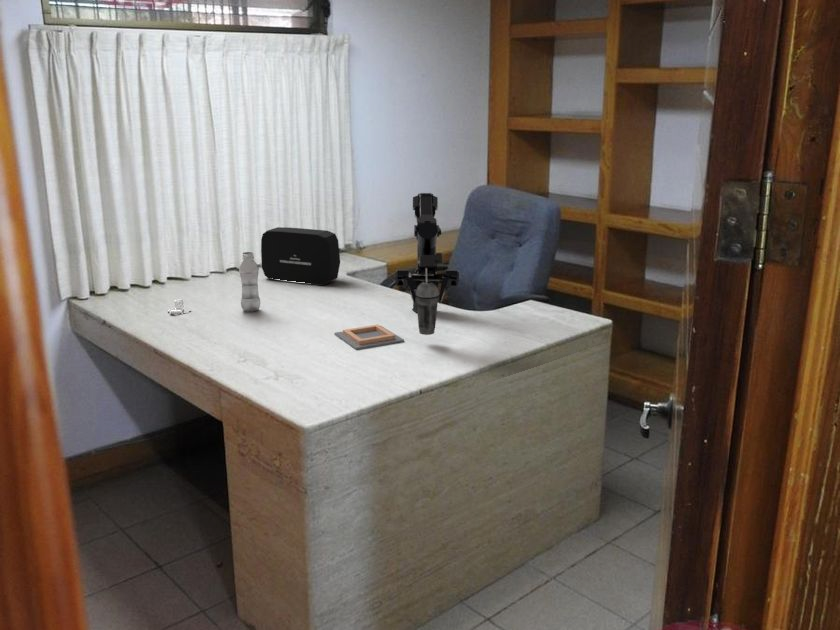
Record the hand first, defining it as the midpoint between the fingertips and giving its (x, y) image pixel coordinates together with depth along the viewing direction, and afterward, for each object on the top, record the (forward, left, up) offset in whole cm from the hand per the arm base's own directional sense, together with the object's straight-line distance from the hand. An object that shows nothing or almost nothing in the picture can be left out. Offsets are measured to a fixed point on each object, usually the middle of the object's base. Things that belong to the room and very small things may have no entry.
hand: (427, 302), depth 228 cm
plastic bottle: (+35, -59, -13) cm, 70 cm away
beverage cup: (-1, -1, -10) cm, 10 cm away
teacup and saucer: (+60, -70, -14) cm, 93 cm away
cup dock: (+12, -14, -13) cm, 23 cm away
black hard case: (+4, -91, -13) cm, 92 cm away
